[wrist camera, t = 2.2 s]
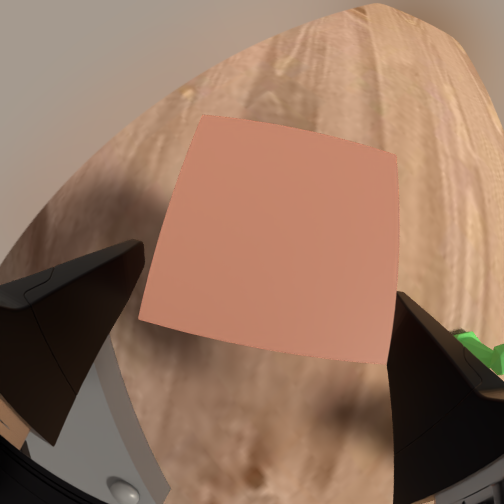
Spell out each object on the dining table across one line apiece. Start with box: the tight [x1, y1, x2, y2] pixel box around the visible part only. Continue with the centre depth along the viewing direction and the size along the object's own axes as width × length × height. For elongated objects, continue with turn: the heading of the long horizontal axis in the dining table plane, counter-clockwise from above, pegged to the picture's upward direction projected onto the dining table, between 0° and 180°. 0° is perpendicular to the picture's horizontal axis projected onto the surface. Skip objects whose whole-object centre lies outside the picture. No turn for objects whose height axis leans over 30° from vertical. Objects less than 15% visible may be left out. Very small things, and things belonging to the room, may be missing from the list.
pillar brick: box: [138, 115, 399, 364], centre depth 11 cm, size 4×4×13 cm
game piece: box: [453, 332, 504, 375], centre depth 13 cm, size 4×4×6 cm
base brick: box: [26, 334, 171, 504], centre depth 13 cm, size 13×13×4 cm
